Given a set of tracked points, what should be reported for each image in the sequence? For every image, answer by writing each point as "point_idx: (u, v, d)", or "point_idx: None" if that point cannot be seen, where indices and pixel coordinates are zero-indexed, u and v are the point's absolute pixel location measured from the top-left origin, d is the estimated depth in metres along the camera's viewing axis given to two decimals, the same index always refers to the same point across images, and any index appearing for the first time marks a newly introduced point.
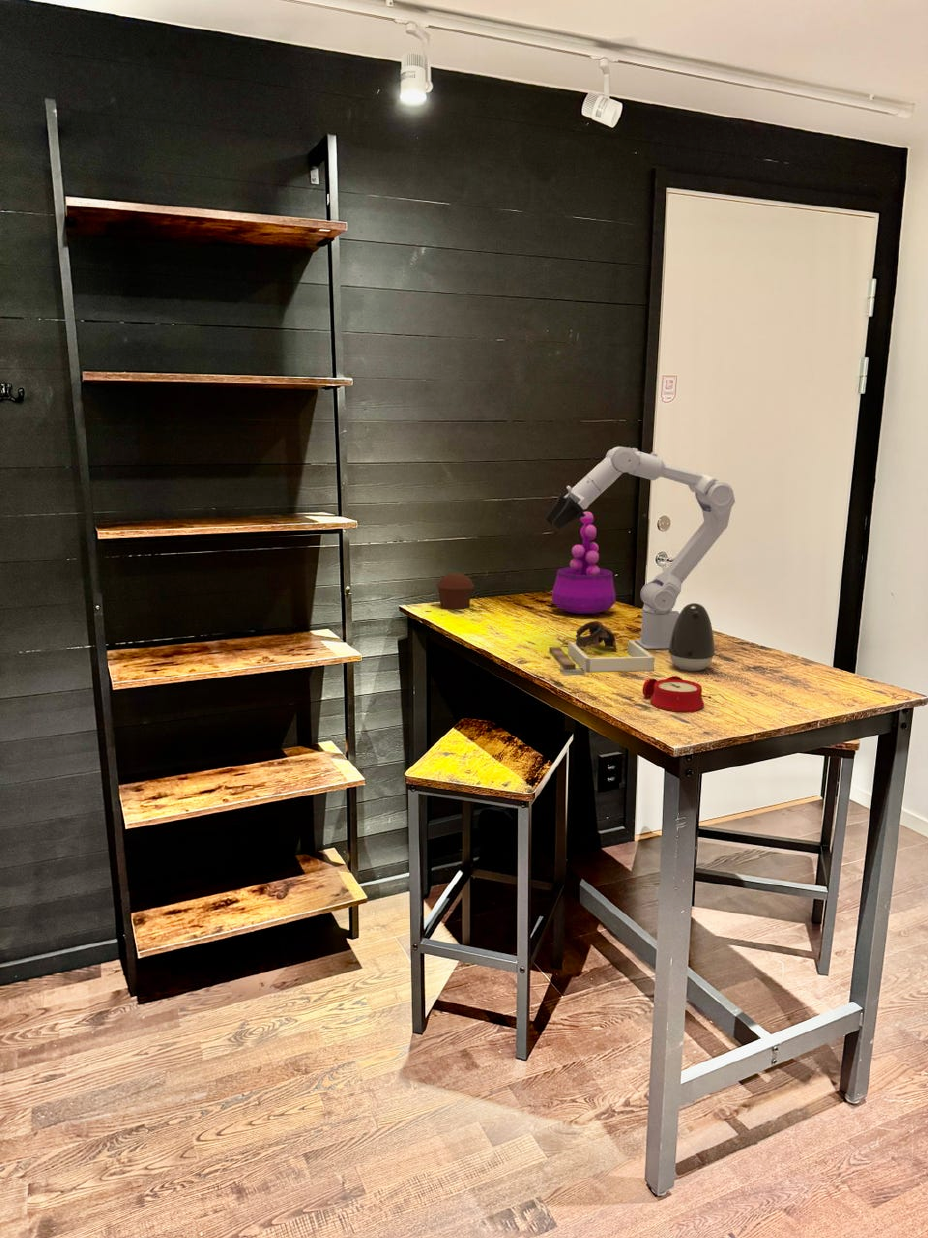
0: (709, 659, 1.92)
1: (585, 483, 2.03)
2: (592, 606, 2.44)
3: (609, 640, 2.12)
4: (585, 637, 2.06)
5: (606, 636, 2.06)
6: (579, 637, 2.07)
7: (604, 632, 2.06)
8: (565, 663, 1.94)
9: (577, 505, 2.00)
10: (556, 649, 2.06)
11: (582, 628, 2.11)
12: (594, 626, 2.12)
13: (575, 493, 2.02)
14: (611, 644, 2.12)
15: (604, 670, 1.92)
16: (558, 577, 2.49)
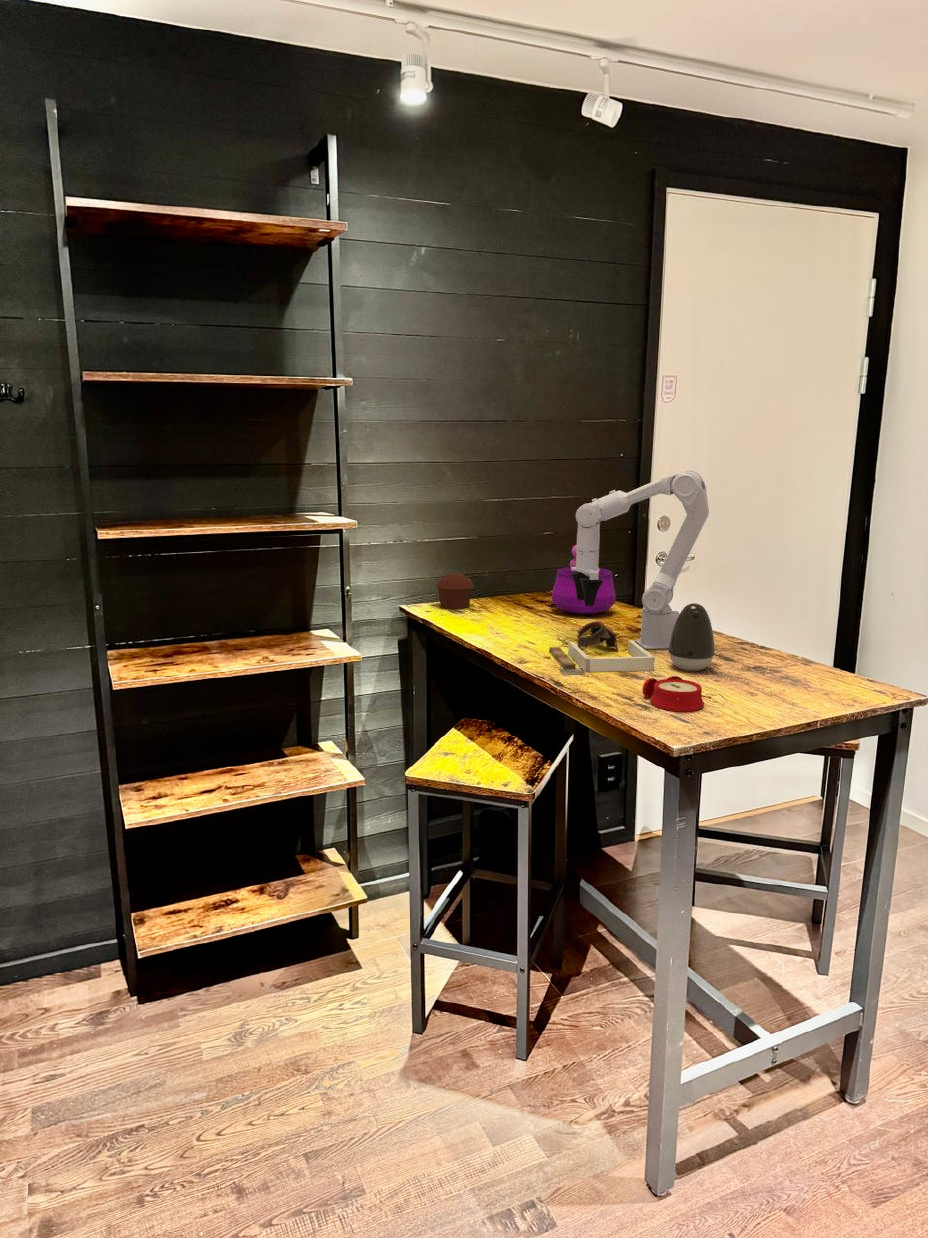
0: (709, 659, 1.92)
1: (581, 556, 2.15)
2: (592, 606, 2.44)
3: (610, 640, 2.12)
4: (587, 637, 2.06)
5: (608, 636, 2.06)
6: (581, 637, 2.07)
7: (606, 632, 2.06)
8: (565, 663, 1.94)
9: (591, 580, 2.13)
10: (556, 649, 2.06)
11: (584, 628, 2.11)
12: (595, 626, 2.11)
13: (581, 570, 2.15)
14: (612, 644, 2.12)
15: (604, 670, 1.92)
16: (558, 577, 2.49)
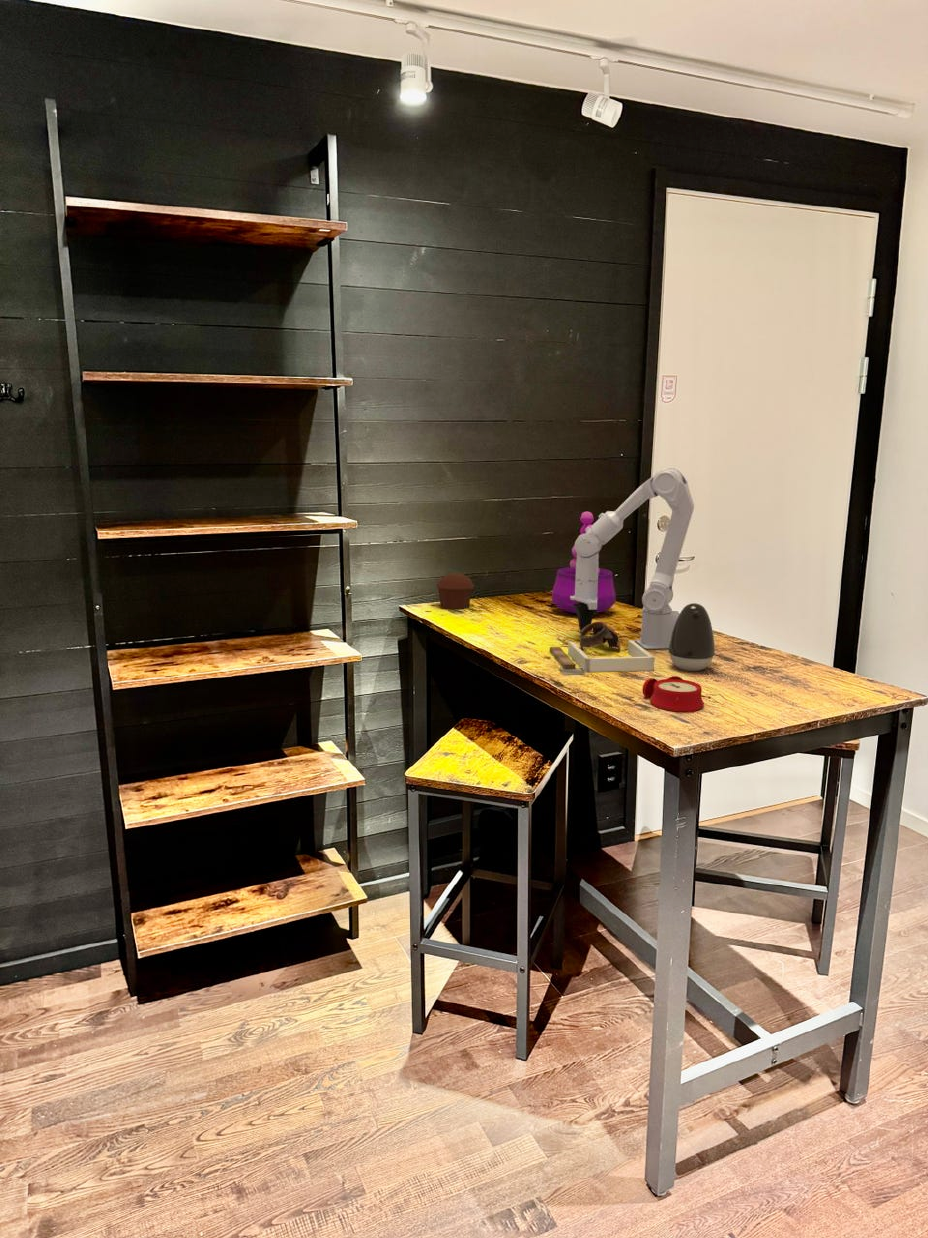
0: (709, 659, 1.92)
1: (580, 586, 2.17)
2: None
3: (613, 640, 2.12)
4: (589, 637, 2.06)
5: (610, 636, 2.06)
6: (583, 637, 2.07)
7: (608, 632, 2.06)
8: (565, 663, 1.94)
9: (586, 607, 2.18)
10: (556, 649, 2.06)
11: (586, 628, 2.11)
12: (598, 626, 2.11)
13: (580, 600, 2.17)
14: (615, 644, 2.12)
15: (604, 670, 1.92)
16: (558, 577, 2.49)
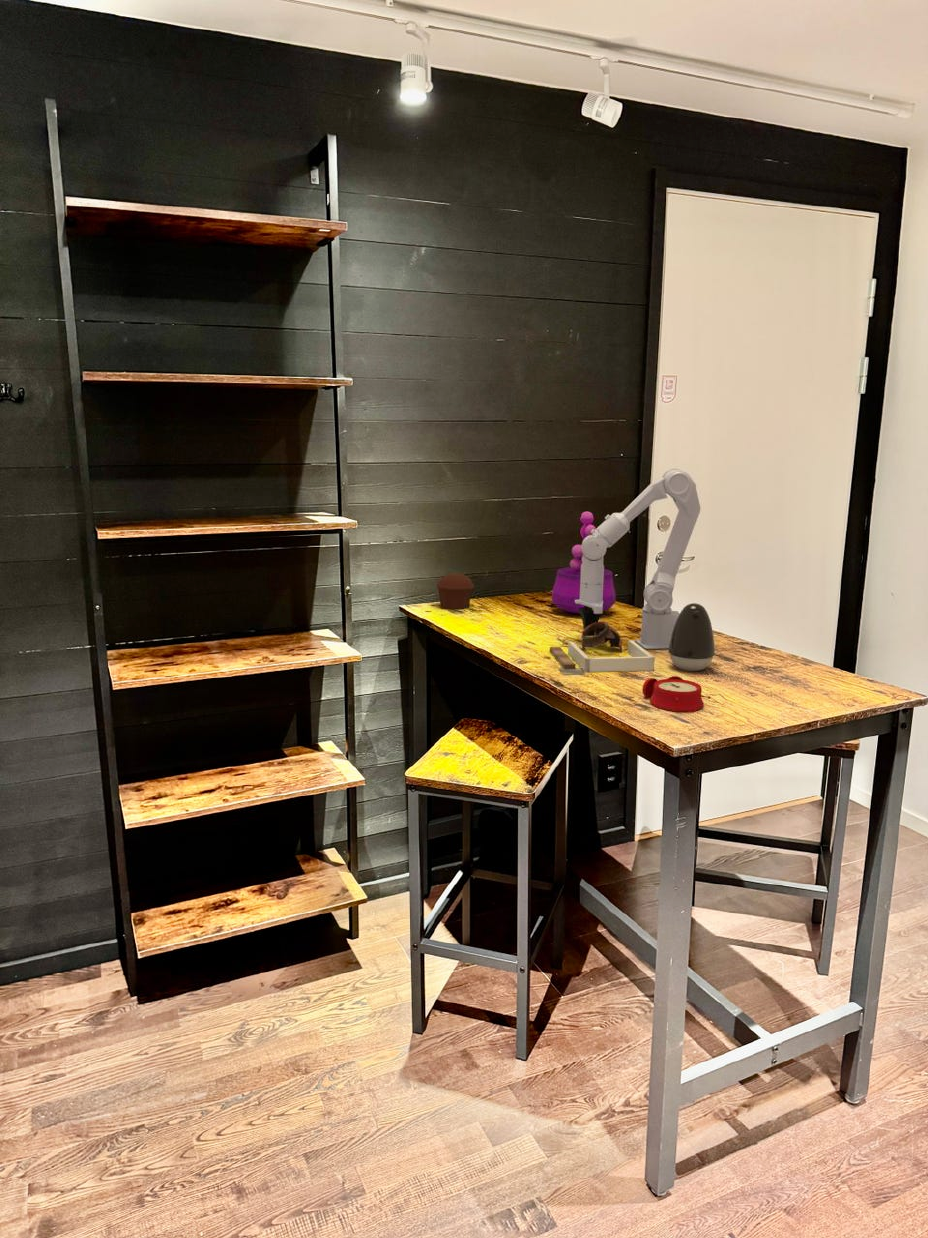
0: (709, 659, 1.92)
1: (585, 589, 2.12)
2: None
3: (615, 640, 2.11)
4: (591, 637, 2.05)
5: (612, 636, 2.05)
6: (585, 637, 2.07)
7: (610, 632, 2.06)
8: (565, 663, 1.94)
9: (591, 611, 2.13)
10: (556, 649, 2.06)
11: (588, 628, 2.10)
12: (599, 626, 2.11)
13: (585, 604, 2.12)
14: (617, 644, 2.11)
15: (604, 670, 1.92)
16: (558, 577, 2.49)
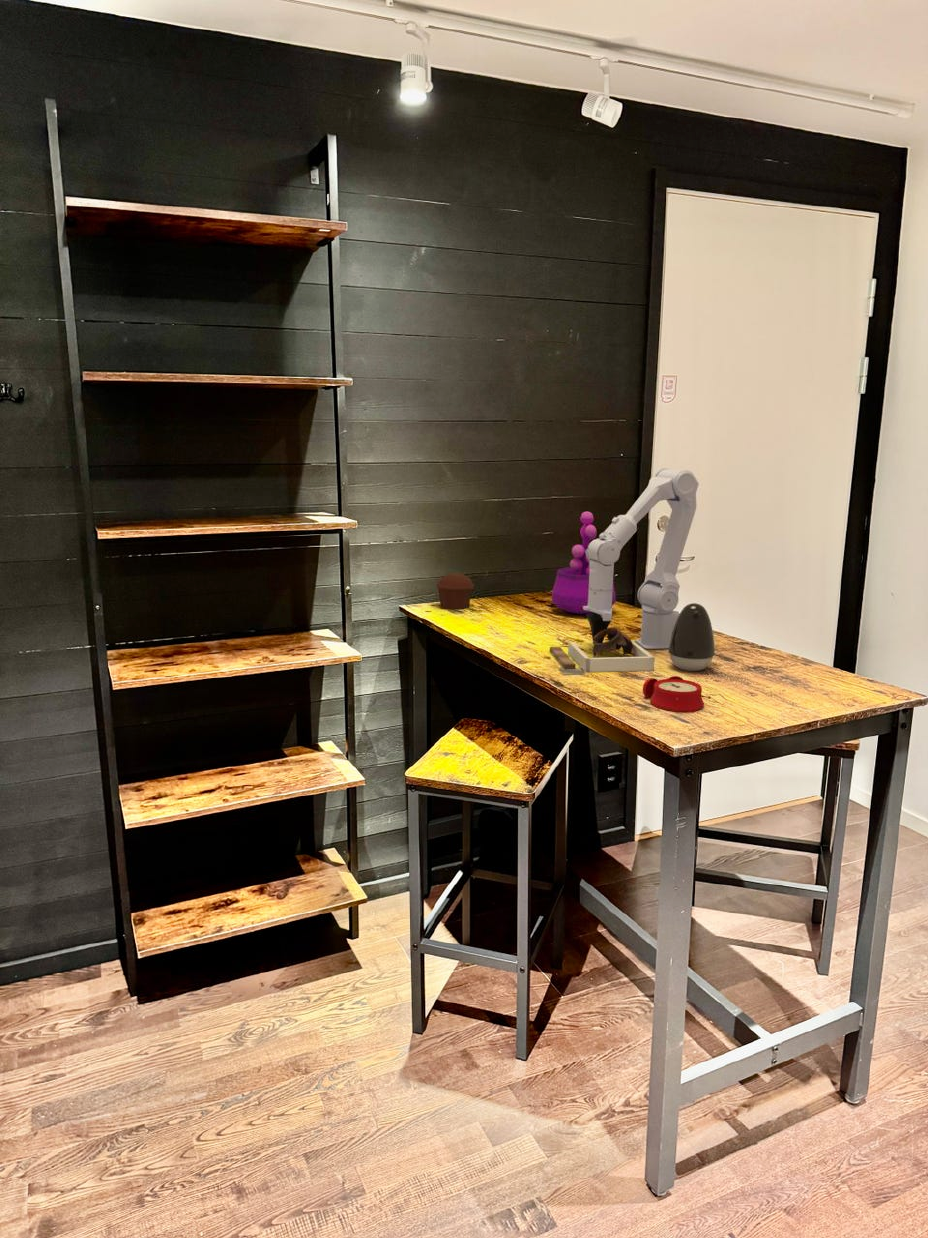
0: (709, 659, 1.92)
1: (594, 596, 2.04)
2: None
3: (628, 647, 2.04)
4: (602, 644, 1.99)
5: (624, 643, 1.99)
6: (596, 643, 2.00)
7: (622, 639, 1.99)
8: (565, 663, 1.94)
9: (600, 618, 2.05)
10: (556, 649, 2.06)
11: (600, 634, 2.04)
12: (612, 632, 2.04)
13: (594, 610, 2.04)
14: (630, 651, 2.05)
15: (604, 670, 1.92)
16: (558, 577, 2.49)
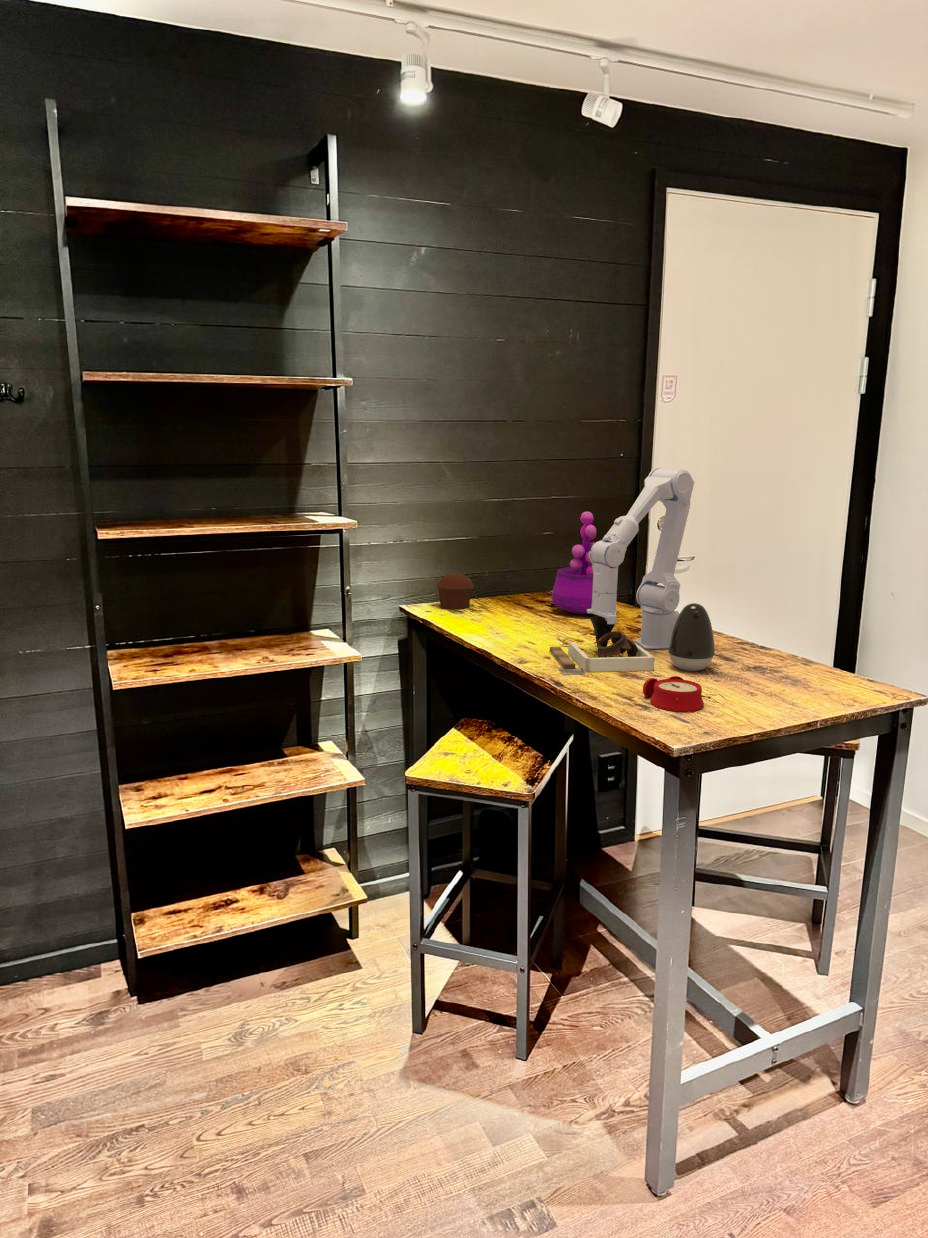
0: (709, 659, 1.92)
1: (598, 598, 2.01)
2: None
3: (632, 651, 2.01)
4: (606, 647, 1.96)
5: (628, 647, 1.95)
6: (600, 647, 1.97)
7: (626, 643, 1.96)
8: (565, 663, 1.94)
9: (604, 621, 2.02)
10: (556, 649, 2.06)
11: (604, 638, 2.01)
12: (616, 636, 2.01)
13: (598, 613, 2.01)
14: (634, 655, 2.01)
15: (604, 670, 1.92)
16: (558, 577, 2.49)
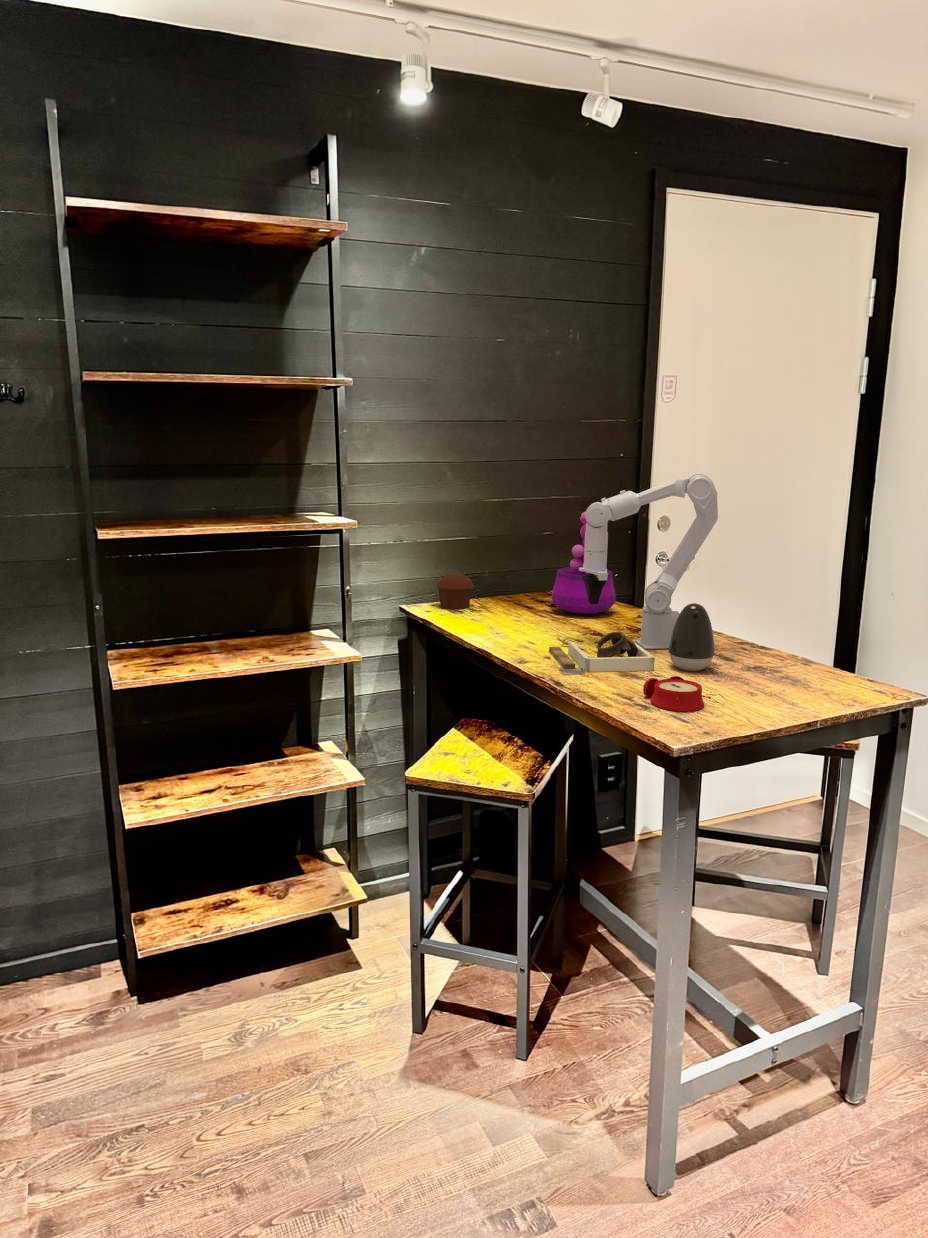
0: (709, 659, 1.92)
1: (589, 557, 2.12)
2: (592, 606, 2.44)
3: (632, 652, 2.01)
4: (606, 648, 1.96)
5: (628, 648, 1.95)
6: (600, 648, 1.97)
7: (626, 643, 1.96)
8: (565, 662, 1.94)
9: (595, 578, 2.13)
10: (556, 649, 2.06)
11: (603, 639, 2.01)
12: (616, 637, 2.01)
13: (589, 571, 2.12)
14: (634, 656, 2.01)
15: (604, 670, 1.92)
16: (558, 577, 2.49)
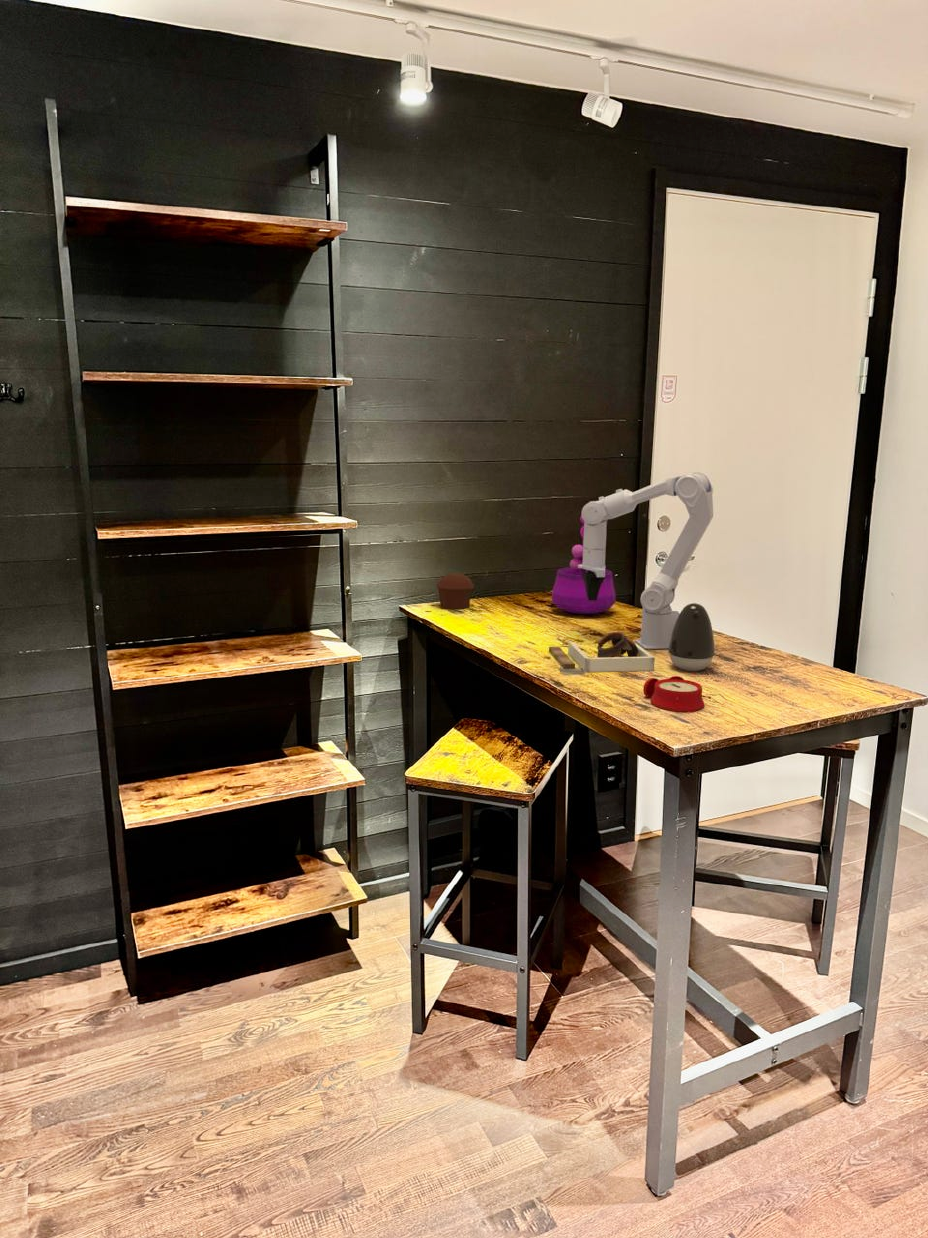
0: (709, 659, 1.92)
1: (588, 554, 2.17)
2: (592, 606, 2.44)
3: (632, 652, 2.01)
4: (607, 649, 1.95)
5: (629, 648, 1.95)
6: (600, 649, 1.97)
7: (627, 644, 1.95)
8: (564, 662, 1.94)
9: (594, 575, 2.17)
10: (556, 649, 2.06)
11: (604, 639, 2.00)
12: (617, 637, 2.01)
13: (588, 568, 2.16)
14: (634, 656, 2.01)
15: (604, 670, 1.92)
16: (558, 577, 2.49)
